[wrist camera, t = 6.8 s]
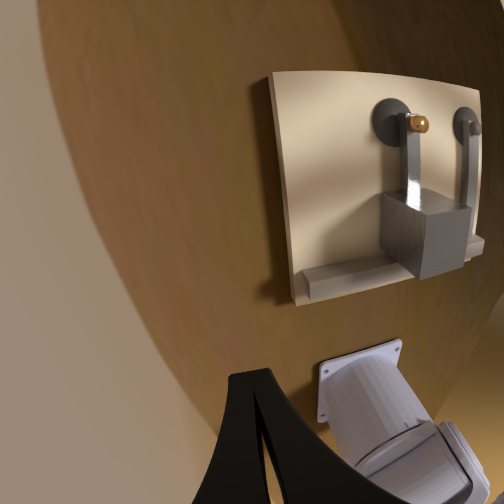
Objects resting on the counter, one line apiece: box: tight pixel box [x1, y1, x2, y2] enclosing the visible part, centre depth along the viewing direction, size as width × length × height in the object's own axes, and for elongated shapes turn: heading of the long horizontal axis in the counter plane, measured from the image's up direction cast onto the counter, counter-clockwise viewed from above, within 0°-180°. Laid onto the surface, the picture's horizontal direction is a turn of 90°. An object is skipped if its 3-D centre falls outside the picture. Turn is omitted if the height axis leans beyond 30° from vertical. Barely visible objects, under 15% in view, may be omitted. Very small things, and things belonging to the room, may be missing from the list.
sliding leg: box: [380, 113, 472, 280], centre depth 14 cm, size 8×4×4 cm, turn 7°
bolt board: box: [268, 71, 485, 306], centre depth 17 cm, size 14×16×3 cm
